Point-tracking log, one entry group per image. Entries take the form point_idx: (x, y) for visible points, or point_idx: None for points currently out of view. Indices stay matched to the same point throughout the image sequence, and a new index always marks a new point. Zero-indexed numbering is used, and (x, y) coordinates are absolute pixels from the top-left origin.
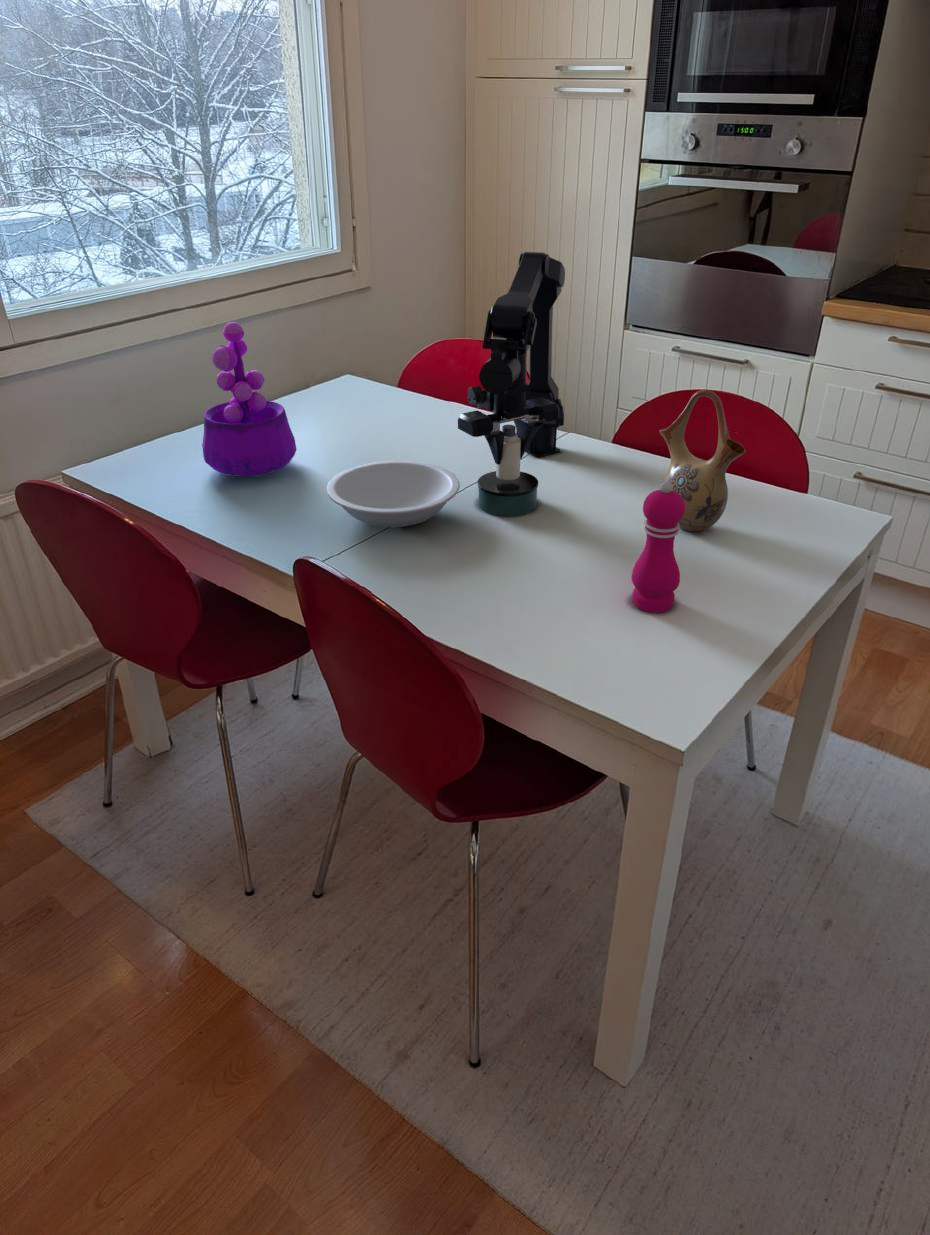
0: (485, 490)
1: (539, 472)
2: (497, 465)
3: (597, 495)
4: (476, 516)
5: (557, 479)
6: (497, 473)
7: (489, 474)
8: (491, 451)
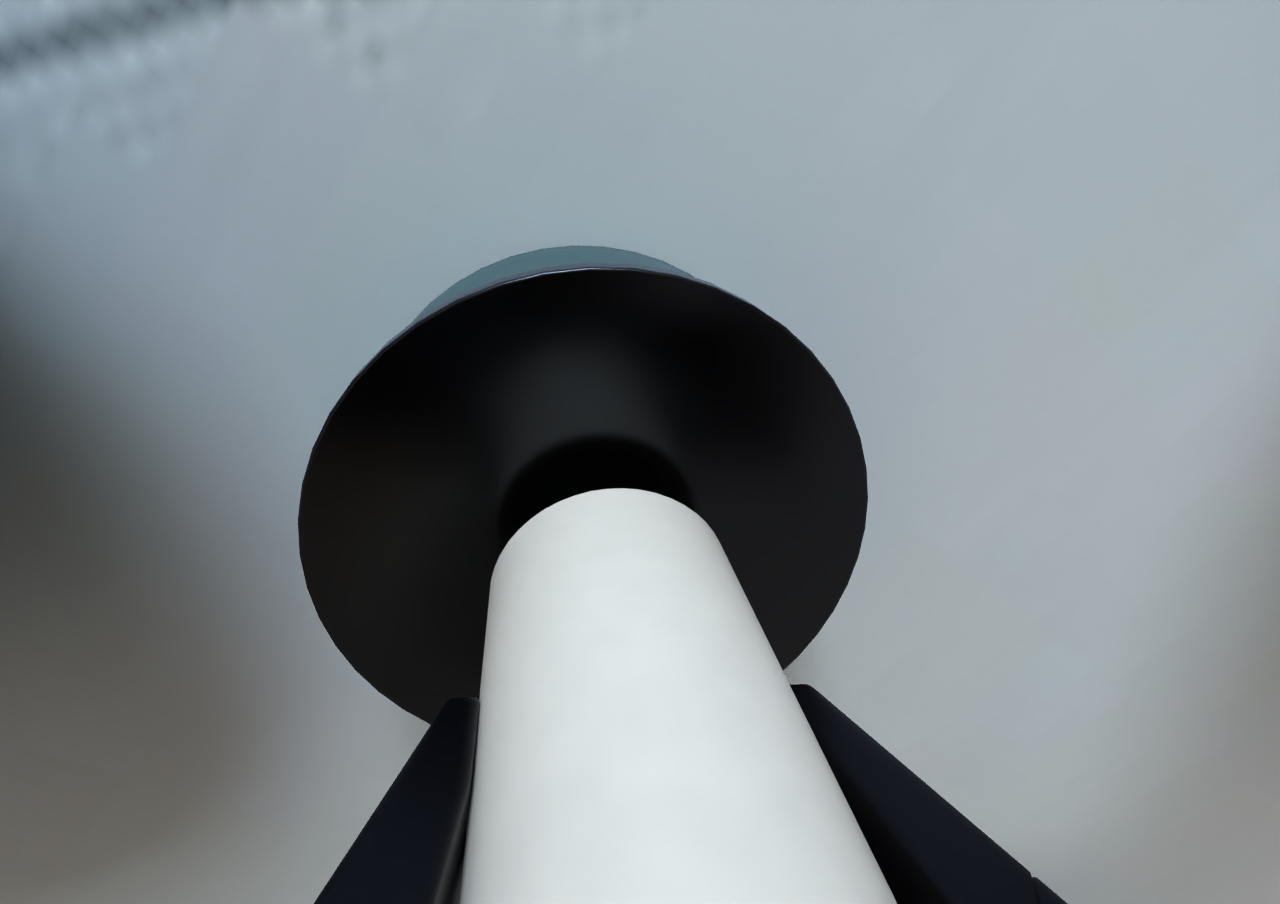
0: (310, 592)
1: (1195, 122)
2: (481, 677)
3: (1042, 618)
4: (271, 499)
5: (1135, 323)
6: (488, 607)
7: (569, 316)
8: (345, 867)
